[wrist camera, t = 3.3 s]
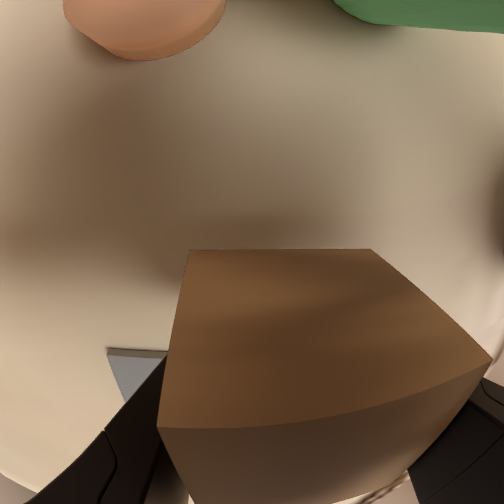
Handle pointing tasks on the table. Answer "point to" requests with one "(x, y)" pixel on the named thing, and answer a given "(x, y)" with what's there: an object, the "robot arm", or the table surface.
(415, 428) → the walnut block
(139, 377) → the slate coaster
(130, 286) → the table surface
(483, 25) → the mug
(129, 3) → the peach egg shape
